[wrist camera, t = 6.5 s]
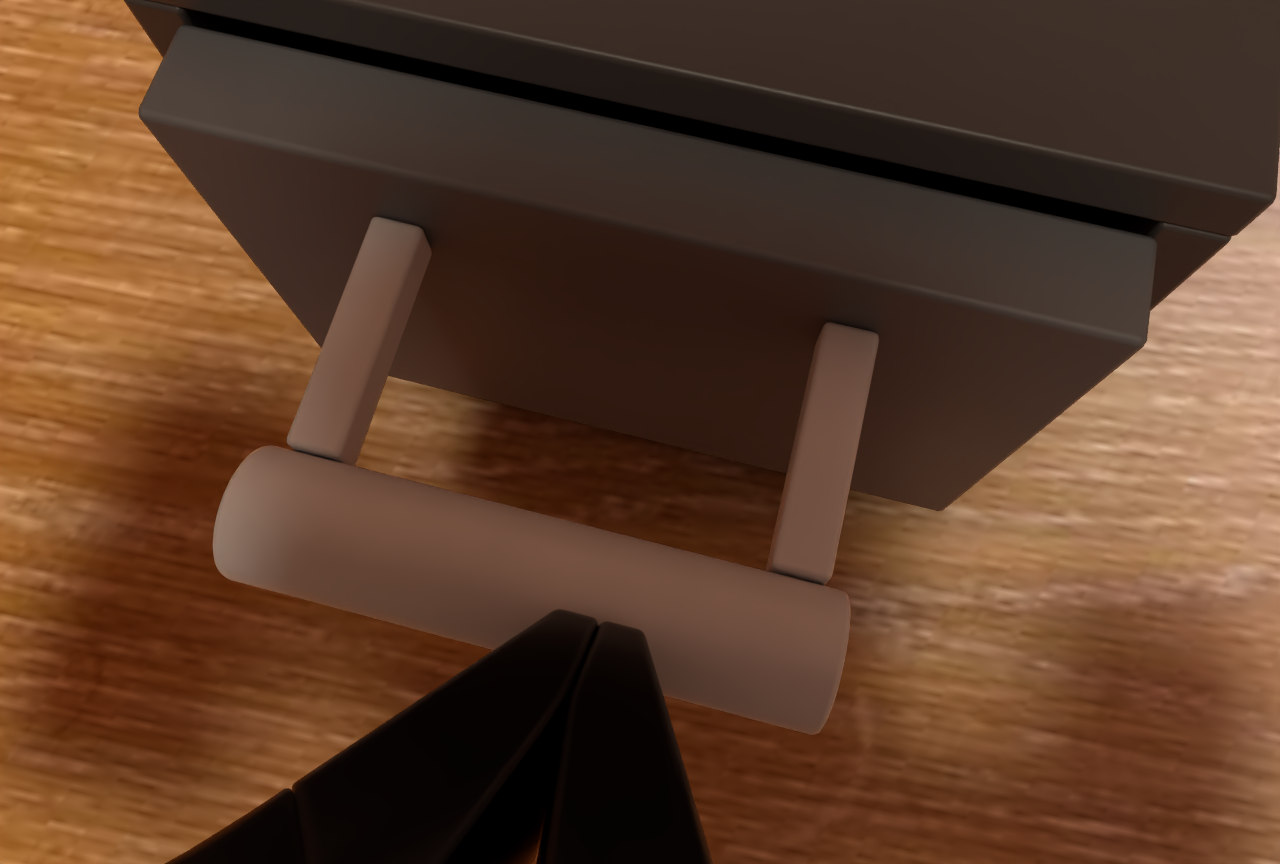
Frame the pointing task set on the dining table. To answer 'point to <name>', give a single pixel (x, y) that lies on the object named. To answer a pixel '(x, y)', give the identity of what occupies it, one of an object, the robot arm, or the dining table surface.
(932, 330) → the drawer
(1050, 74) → the dark brown hollow box
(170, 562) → the dining table surface
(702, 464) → the dining table surface
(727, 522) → the dining table surface
